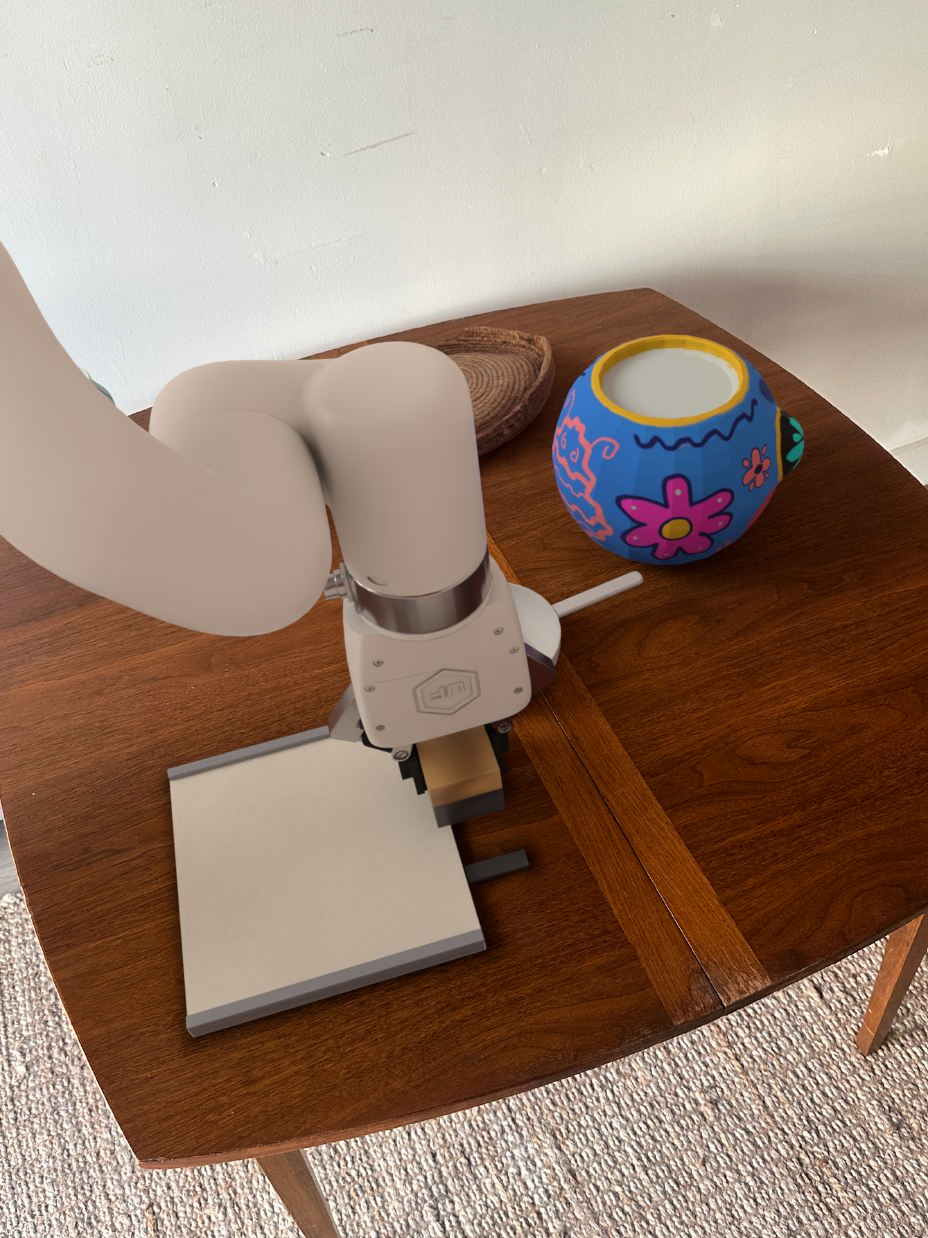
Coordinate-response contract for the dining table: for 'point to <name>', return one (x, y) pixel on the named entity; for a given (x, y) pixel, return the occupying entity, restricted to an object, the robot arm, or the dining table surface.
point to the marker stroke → (496, 866)
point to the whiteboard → (308, 877)
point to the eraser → (461, 776)
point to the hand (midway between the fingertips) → (455, 764)
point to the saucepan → (560, 611)
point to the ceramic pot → (671, 448)
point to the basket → (501, 379)
